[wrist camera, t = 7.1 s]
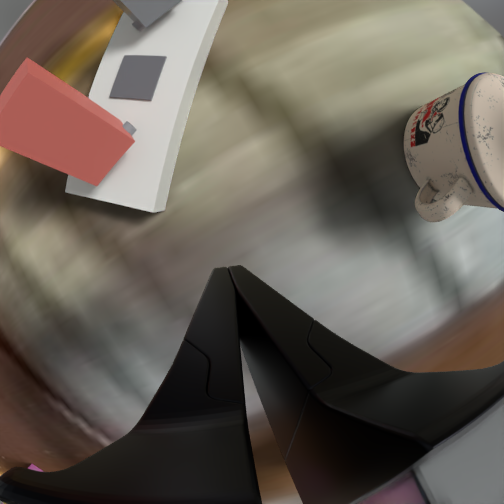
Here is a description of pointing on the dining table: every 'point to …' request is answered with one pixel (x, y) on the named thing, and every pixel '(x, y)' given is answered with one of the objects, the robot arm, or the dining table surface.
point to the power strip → (151, 99)
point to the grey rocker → (145, 10)
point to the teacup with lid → (458, 149)
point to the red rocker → (60, 125)
